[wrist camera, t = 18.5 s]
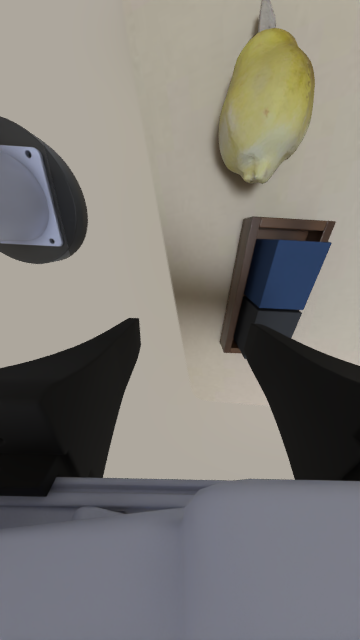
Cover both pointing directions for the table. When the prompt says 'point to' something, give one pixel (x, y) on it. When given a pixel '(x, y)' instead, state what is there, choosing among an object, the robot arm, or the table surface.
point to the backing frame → (249, 234)
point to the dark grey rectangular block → (263, 321)
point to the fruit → (266, 102)
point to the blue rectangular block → (284, 272)
